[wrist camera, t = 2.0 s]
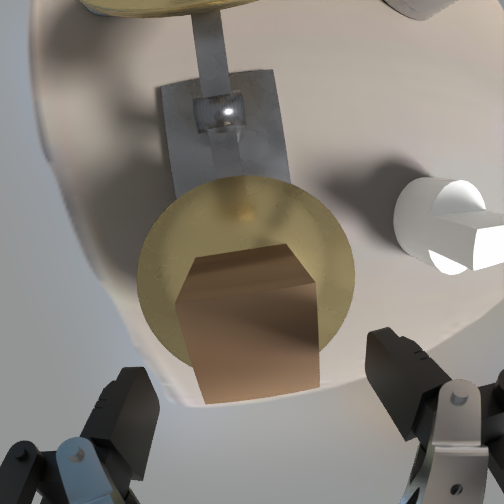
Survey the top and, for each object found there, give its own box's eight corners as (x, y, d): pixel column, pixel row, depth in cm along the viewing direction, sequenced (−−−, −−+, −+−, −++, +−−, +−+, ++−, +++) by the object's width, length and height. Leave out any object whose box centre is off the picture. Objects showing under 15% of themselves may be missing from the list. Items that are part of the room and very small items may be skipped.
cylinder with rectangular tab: (392, 263, 28) (465, 309, 16) (391, 177, 25) (475, 185, 14) (450, 252, 28) (521, 285, 16) (451, 177, 26) (530, 186, 14)
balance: (144, 12, 19) (86, -85, 3) (269, -7, 20) (298, -118, 4) (188, 319, 28) (153, 452, 12) (315, 299, 28) (388, 417, 12)
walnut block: (195, 257, 15) (174, 304, 10) (285, 243, 16) (315, 282, 10) (212, 335, 17) (205, 404, 11) (294, 323, 17) (319, 387, 11)
